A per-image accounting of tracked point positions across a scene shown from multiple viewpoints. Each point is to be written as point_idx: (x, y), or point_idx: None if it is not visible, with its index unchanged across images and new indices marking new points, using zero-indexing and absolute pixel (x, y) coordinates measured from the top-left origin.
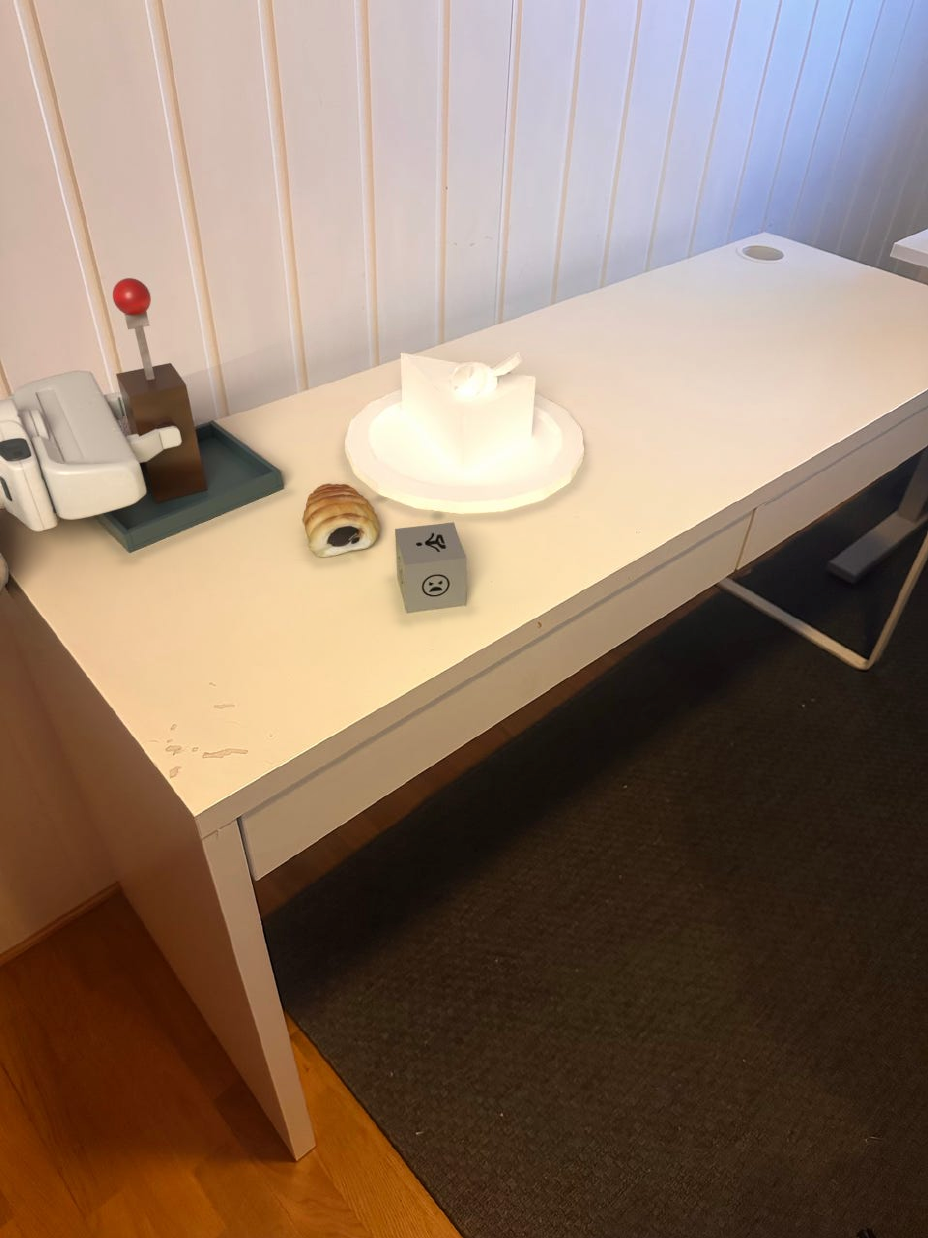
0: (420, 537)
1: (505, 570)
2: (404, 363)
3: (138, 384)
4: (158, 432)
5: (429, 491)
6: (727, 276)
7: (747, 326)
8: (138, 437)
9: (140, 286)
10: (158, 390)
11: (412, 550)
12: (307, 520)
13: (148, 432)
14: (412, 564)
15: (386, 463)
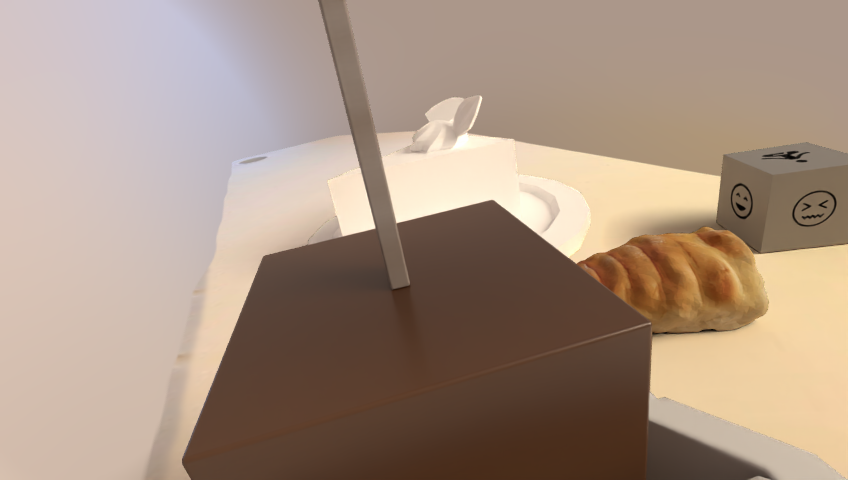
0: (781, 162)
1: (699, 200)
2: (341, 188)
3: (448, 310)
4: (666, 398)
5: (566, 225)
6: (267, 165)
7: (336, 158)
8: (787, 476)
9: None
10: (542, 239)
11: (825, 161)
12: (724, 284)
13: (690, 434)
14: None
15: None
